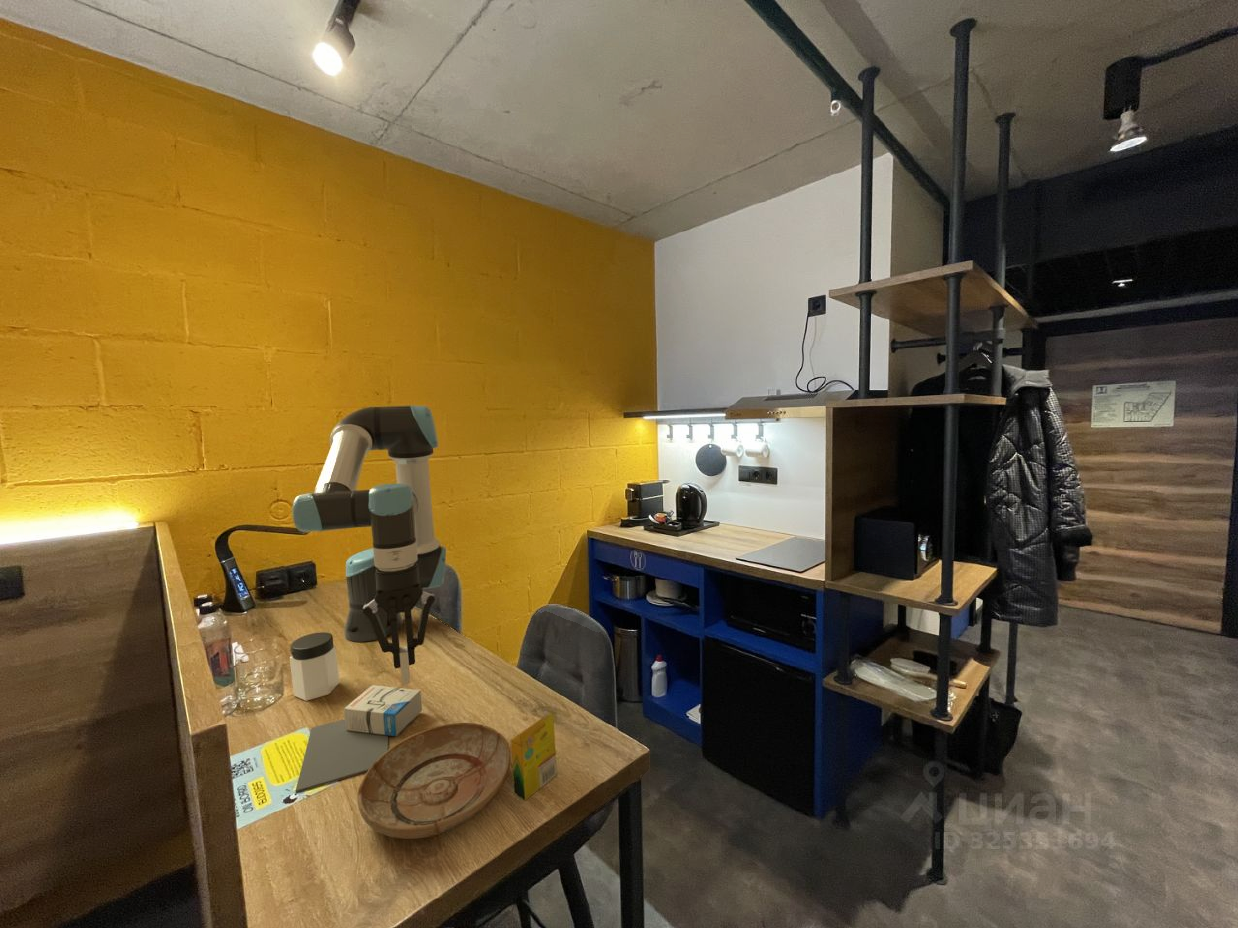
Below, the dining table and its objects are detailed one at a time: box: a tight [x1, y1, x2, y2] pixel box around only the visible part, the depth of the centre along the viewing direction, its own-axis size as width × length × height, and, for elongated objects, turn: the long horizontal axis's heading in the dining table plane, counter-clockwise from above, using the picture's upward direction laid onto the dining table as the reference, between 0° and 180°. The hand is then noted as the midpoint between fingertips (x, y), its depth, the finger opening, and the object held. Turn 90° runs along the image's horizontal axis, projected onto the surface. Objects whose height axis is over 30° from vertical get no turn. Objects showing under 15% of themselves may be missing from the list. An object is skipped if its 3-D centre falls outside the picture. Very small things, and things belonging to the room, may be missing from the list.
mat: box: [295, 718, 389, 794], centre depth 93 cm, size 18×14×1 cm
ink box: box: [343, 684, 423, 737], centre depth 100 cm, size 9×5×12 cm
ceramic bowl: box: [357, 722, 512, 840], centre depth 81 cm, size 23×24×5 cm
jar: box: [289, 631, 340, 702], centre depth 112 cm, size 9×8×12 cm
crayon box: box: [510, 712, 558, 802], centre depth 82 cm, size 7×3×12 cm, turn 140°
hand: (406, 680), depth 97 cm, fingers closed
